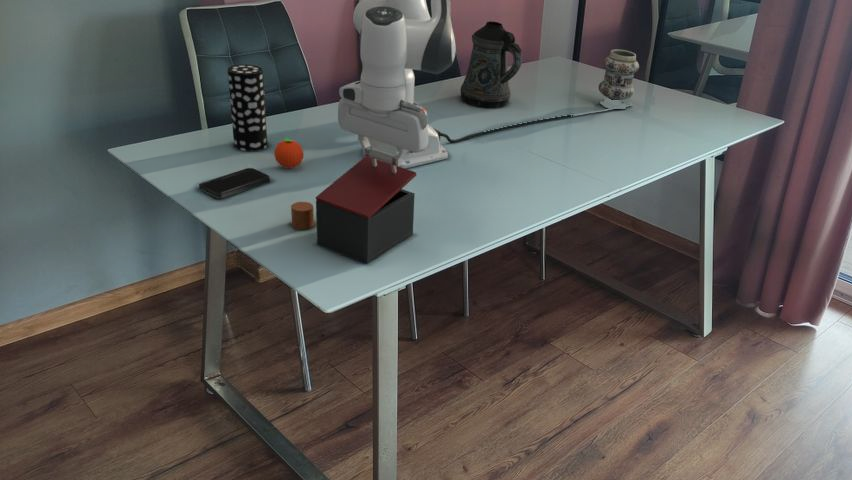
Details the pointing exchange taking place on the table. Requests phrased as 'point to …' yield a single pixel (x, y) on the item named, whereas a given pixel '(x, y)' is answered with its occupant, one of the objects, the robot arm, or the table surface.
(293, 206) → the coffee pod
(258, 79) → the white-spotted black cylinder
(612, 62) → the apothecary jar
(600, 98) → the table surface
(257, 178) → the phone
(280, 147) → the clementine
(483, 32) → the beer stein
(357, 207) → the lid
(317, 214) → the dark grey box
